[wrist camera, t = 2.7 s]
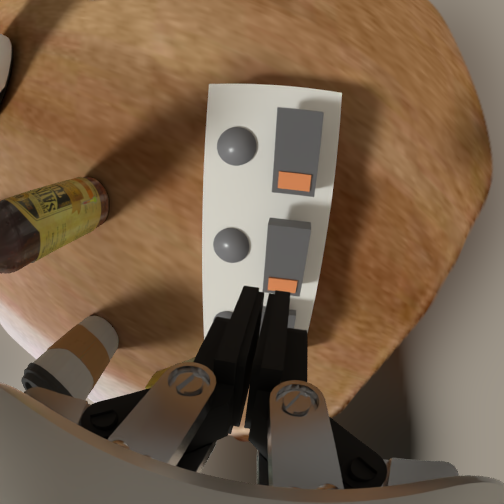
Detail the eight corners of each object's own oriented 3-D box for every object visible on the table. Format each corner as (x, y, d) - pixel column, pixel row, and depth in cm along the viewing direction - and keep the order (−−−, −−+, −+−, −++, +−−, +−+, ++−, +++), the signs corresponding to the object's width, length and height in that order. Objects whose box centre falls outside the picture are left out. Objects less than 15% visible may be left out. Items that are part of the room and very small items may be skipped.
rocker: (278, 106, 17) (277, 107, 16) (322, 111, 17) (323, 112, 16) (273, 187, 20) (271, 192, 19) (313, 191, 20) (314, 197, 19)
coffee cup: (102, 357, 37) (53, 422, 23) (72, 314, 35) (11, 374, 21) (136, 350, 35) (83, 429, 21) (103, 301, 32) (31, 373, 19)
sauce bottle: (114, 179, 26) (-55, 245, 8) (110, 233, 28) (-30, 329, 10) (73, 170, 26) (-75, 222, 8) (71, 220, 29) (-58, 293, 10)
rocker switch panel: (220, 91, 22) (208, 83, 18) (335, 100, 20) (342, 92, 17) (213, 337, 31) (204, 357, 28) (298, 349, 30) (298, 371, 27)
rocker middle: (269, 217, 20) (267, 225, 19) (310, 222, 20) (311, 230, 19) (264, 283, 23) (262, 293, 22) (299, 287, 23) (299, 297, 22)
